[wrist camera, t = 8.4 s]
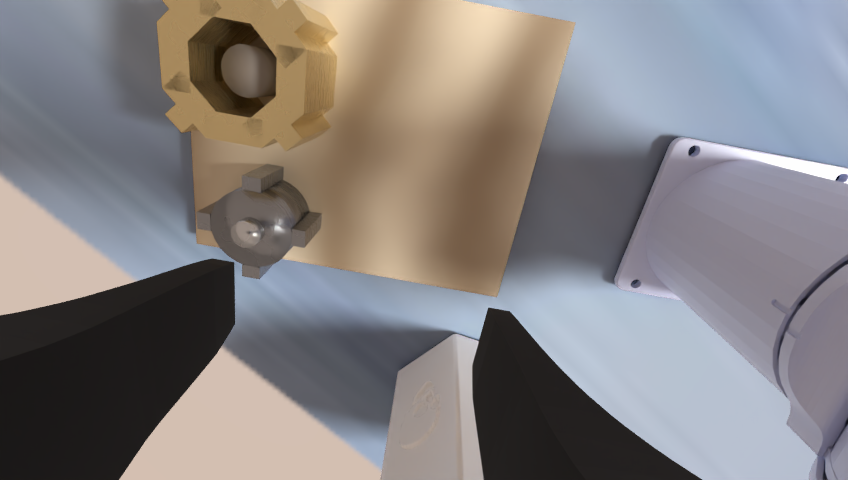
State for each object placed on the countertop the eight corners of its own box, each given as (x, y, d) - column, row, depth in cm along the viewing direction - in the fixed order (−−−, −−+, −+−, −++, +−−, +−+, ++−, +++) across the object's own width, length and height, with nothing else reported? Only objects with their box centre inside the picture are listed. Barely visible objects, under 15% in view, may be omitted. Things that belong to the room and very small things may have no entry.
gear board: (568, 25, 17) (603, 9, 13) (494, 287, 22) (505, 330, 18) (195, -47, 16) (122, -85, 13) (207, 236, 21) (157, 269, 18)
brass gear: (340, 17, 16) (309, -2, 12) (331, 139, 18) (301, 155, 14) (219, -5, 16) (152, -31, 12) (223, 120, 18) (165, 131, 14)
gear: (325, 174, 19) (303, 191, 16) (318, 263, 20) (297, 293, 18) (225, 156, 19) (185, 169, 16) (227, 247, 20) (191, 274, 17)
